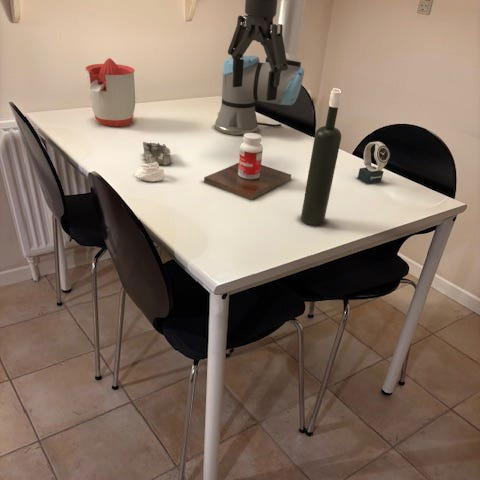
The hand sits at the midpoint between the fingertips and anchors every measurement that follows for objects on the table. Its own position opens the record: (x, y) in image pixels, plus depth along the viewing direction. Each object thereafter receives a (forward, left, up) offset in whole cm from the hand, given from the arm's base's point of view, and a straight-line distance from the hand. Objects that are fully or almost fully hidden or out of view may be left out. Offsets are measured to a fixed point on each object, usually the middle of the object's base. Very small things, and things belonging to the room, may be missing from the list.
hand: (253, 93), depth 125 cm
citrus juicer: (+12, -59, -22) cm, 64 cm away
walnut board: (+3, +4, -22) cm, 22 cm away
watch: (-30, +21, -22) cm, 43 cm away
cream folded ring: (+26, -11, -22) cm, 36 cm away
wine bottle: (+5, +31, -22) cm, 39 cm away
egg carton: (+17, -22, -22) cm, 35 cm away
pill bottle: (+3, +4, -21) cm, 21 cm away
